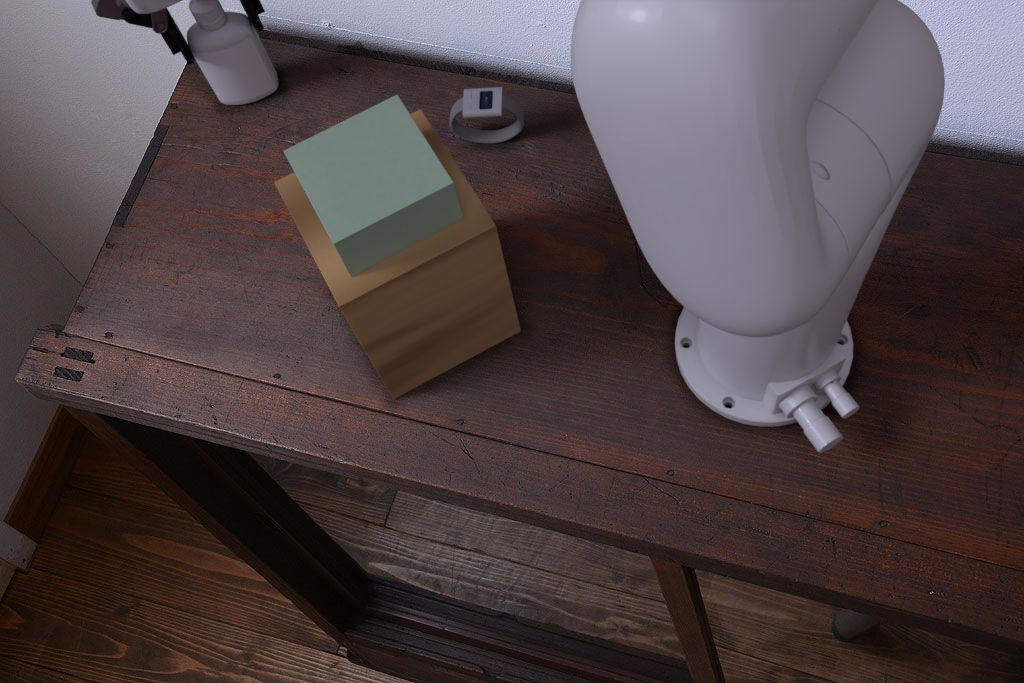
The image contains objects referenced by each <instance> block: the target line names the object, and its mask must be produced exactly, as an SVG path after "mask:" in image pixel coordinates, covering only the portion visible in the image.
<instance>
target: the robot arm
mask: <svg viewBox="0 0 1024 683" xmlns="http://www.w3.org/2000/svg"><path fill="white" fill-rule="evenodd" d="M180 2H183V0H91V3H90V4H91V6H92V8H93V10H94V12H95V15H96V16H97V17H100V18H104V19H108V20H109V19H110V20H116V21H120V20H121V21H125V23H127V24H130V25H134V26H138V27H143V28H148V29H152V30H153V32H154V33H156V34H158V35H160V36H161V38H162V39H163V40H164V42H165V44H166V45H167V47H168V49H169V50H170V52H171V54H172V56H175V55H177V54H179V53H181V55H182V56H183V58H184V59H185V61H186V63H187V65H188V66H191V65H192V64H195V62H196V60H195V58H194V56H193V54H192V52H191V50H190V48H189V46H188V42H187V39H186V38H185V36H184V35H183V33H182V31H181V30H180V28H179V26H178V25H177V22H176V21H175V19H174V18H173V15H172V14H171V13H170V11H169V7H171V6H173V5H176V4H178V3H180ZM239 2H240V4H241V6H242V8H243V10H244V13H245V15H247V16H248V17H249V19H250V21H251V23H252V25H253V26H254V28H255V30H256V32H261V31H264V30H265V27H264V25H263V23H262V21H261V18H260V16H259V15H261V14H263V13H265V8H264V6H263V4H262V1H261V0H239ZM570 42H571V43H570V70H571V76H572V77H571V78H572V84H573V87H574V91H575V94H576V98H577V101H578V103H579V107H580V109H581V111H582V115H583V117H584V119H585V120H584V121H585V122H586V125H587V127H588V130H589V132H590V135H591V137H592V139H593V141H594V144H595V146H596V149H597V150H598V153H599V155H600V158H601V160H602V163H603V165H604V167H605V170H606V172H607V174H608V177H609V179H610V181H611V184H612V186H613V188H614V191H615V193H616V195H617V198H618V200H619V203H620V205H621V207H622V210H623V212H624V214H625V216H626V219H627V222H628V224H629V226H630V229H631V231H632V233H633V235H634V238H635V240H636V242H637V244H638V247H639V249H640V250H641V253H642V254H643V256H644V258H645V260H646V261H647V263H648V265H649V266H650V268H651V270H652V271H653V273H654V275H656V277H657V279H658V280H659V282H660V283H661V285H663V287H664V288H665V289H666V290H667V291H668V292H669V294H670V295H671V296H672V297H673V298H674V299H675V300H676V301H677V302H678V303H679V304H680V305H682V311H681V312H680V314H679V317H678V320H677V324H676V329H675V336H674V351H675V352H674V353H675V360H676V363H677V366H678V369H679V372H680V375H681V377H682V379H683V380H684V382H685V383H686V386H687V387H688V389H689V390H690V391H691V392H692V393H693V394H694V396H695V397H696V398H697V399H698V400H699V401H700V402H701V403H703V405H705V406H706V407H707V408H709V409H710V410H711V411H713V412H714V413H715V414H716V413H717V414H718V415H720V416H722V417H723V418H726V419H728V420H731V421H733V422H736V423H739V424H742V425H748V426H753V427H759V428H760V427H762V428H764V427H766V428H768V427H769V428H770V427H771V428H772V427H773V428H774V427H783V426H788V425H793V424H796V423H797V424H799V426H800V428H801V429H802V430H803V434H804V435H805V436H806V438H807V439H808V441H809V442H810V444H811V445H812V446H813V448H814V449H815V450H816V452H818V454H823V453H825V452H827V451H829V450H831V449H833V448H834V447H836V446H837V445H838V444H839V443H840V442H841V441H842V440H843V439H844V436H843V435H842V433H841V432H840V430H839V429H838V428H837V427H836V425H835V424H834V423H833V421H832V420H831V419H830V417H829V416H828V415H825V413H824V412H823V410H824V409H825V408H826V407H827V406H828V405H830V404H831V406H832V407H833V408H834V409H835V411H836V412H837V413H838V415H839V416H840V417H841V419H842V420H845V419H847V418H850V417H851V416H853V415H854V414H856V413H857V412H858V411H859V410H860V408H861V406H860V405H859V404H858V402H857V401H856V400H855V399H854V397H853V395H851V393H850V392H849V391H848V392H847V390H846V389H845V388H844V385H845V383H846V380H847V378H848V376H849V374H850V371H851V367H852V364H853V360H854V340H853V334H852V329H851V326H850V324H849V321H848V318H849V315H850V314H851V310H852V308H853V307H854V304H855V302H856V299H857V297H858V295H859V292H860V290H861V288H862V285H863V283H864V280H865V278H866V276H867V273H868V271H869V269H870V268H871V266H872V263H873V261H874V259H875V257H876V255H877V253H878V250H879V248H880V245H881V243H882V241H883V238H884V236H885V234H886V232H887V229H888V228H889V225H890V224H891V221H892V218H893V216H894V214H895V212H896V210H897V209H898V206H899V204H900V202H901V200H902V198H903V196H904V194H905V192H906V191H907V188H908V186H909V184H910V182H911V181H912V180H911V179H912V178H913V176H914V174H915V172H916V169H917V168H918V166H919V164H920V162H921V160H922V158H923V156H924V155H925V152H926V150H927V148H928V145H929V144H930V142H931V140H932V137H933V135H934V133H935V130H936V128H937V125H938V123H939V120H940V118H941V113H942V110H943V106H944V98H945V86H946V79H945V68H944V62H943V58H942V54H941V51H940V48H939V45H938V43H937V41H936V39H935V37H934V34H933V33H932V31H931V30H930V29H929V26H927V24H926V23H925V21H923V19H922V18H921V17H920V16H919V15H918V14H917V13H916V12H915V11H914V10H913V9H912V8H910V7H909V6H908V5H907V4H905V3H903V2H901V1H900V0H581V1H580V3H579V6H578V9H577V12H576V15H575V19H574V22H573V26H572V32H571V41H570ZM684 346H687V347H684ZM726 405H729V406H730V408H729V407H726Z"/></svg>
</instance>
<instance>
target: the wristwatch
mask: <svg viewBox="0 0 1024 683" xmlns="http://www.w3.org/2000/svg"><path fill="white" fill-rule="evenodd" d="M504 110H506V111H507V112H509V113H511V115H513V116H514V117H515V118H516V121H515V122H514V123H512V124H511V125H508V126H506V127H503V128H500V129H491V130H490V129H489V130H486V129H477V128H472V127H469V126H465V125H463V124H462V123H460V122H459V120H457V119H456V118H457V117H458V116H459V115H460V113H462V119H481V118H497V117H503V111H504ZM448 122H449V123H448V126H449V129H450V131H451V132H452V134H453V135H454V136H455V137H458V138H459V139H462V140H464V141H469V142H472V143H476V144H499V143H503V142H507V141H509V140H511V139H513V138H515V137H517V136H518V135H519V134H520V133H521V132H522V131H523V128H524V126H525V112H524V109H523V107H522V106H521V105H520V104H519V103H518V102H517V101H516V100H515V99H513V98H512V97H510V96H508V95H505V94H504V88H503V86H494V87H493V86H492V87H478V88H476V87H475V88H463V95H462V97H460V98H459V99H457V100H456V101H455V102H454V103H453V105H452V107H451V109H450V112H449V121H448Z"/></svg>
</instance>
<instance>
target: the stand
mask: <svg viewBox="0 0 1024 683" xmlns="http://www.w3.org/2000/svg"><path fill="white" fill-rule="evenodd" d="M410 115H411V116H412V118H413V119H414V121H415V123H416V124H417V126H418V127H419V129H420V130H421V132H422V134H423V135H424V137H425V138H426V140H427V141H428V143H429V145H430V146H431V148H432V149H433V151H434V152H435V154H436V156H437V157H438V159H439V160H440V162H441V163H442V165H443V167H444V168H445V170H446V171H447V173H448V174H449V176H450V178H451V179H452V181H453V182H454V186H455V189H456V193H457V196H458V200H459V203H460V207H461V210H462V214H463V217H464V219H463V220H461V221H459V222H457V223H455V224H453V225H451V226H449V227H447V228H445V229H443V230H441V231H439V232H437V233H436V234H434V235H432V236H430V237H428V238H426V239H424V240H422V241H420V242H418V243H416V244H414V245H412V246H410V247H408V248H407V249H405V250H403V251H401V252H399V253H397V254H395V255H393V256H391V257H389V258H387V259H385V260H383V261H381V262H379V263H377V264H376V265H374V266H372V267H370V268H368V269H366V270H364V271H362V272H360V273H358V274H356V275H354V276H352V277H351V276H350V275H349V273H348V271H347V269H346V267H345V265H344V263H343V262H342V260H341V258H340V256H339V254H338V252H337V250H336V249H335V247H334V245H333V243H332V241H331V239H330V237H329V236H328V234H327V232H326V230H325V228H324V226H323V224H322V223H321V221H320V219H319V217H318V215H317V213H316V211H315V209H314V208H313V206H312V204H311V202H310V200H309V198H308V196H307V195H306V193H305V191H304V189H303V187H302V185H301V183H300V182H299V180H298V178H297V176H296V174H295V172H294V171H293V172H292V173H290V174H288V175H286V176H284V177H282V178H280V179H278V180H276V181H274V185H275V187H276V189H277V191H278V193H279V195H280V196H281V199H282V201H283V202H284V204H285V206H286V208H287V210H288V212H289V213H290V216H291V217H292V220H293V222H294V224H295V226H296V227H297V229H298V232H299V233H300V235H301V237H302V239H303V240H304V243H305V245H306V247H307V249H308V250H309V252H310V255H311V256H312V258H313V260H314V263H315V264H316V265H317V268H318V269H319V271H320V274H321V275H322V277H323V279H324V281H325V283H326V285H327V287H328V288H329V291H330V293H331V294H332V296H333V298H334V300H335V302H336V305H337V306H338V307H339V309H340V312H341V313H342V315H343V316H344V318H345V320H346V321H347V323H348V325H349V327H350V328H351V330H352V332H353V333H354V335H355V337H356V338H357V340H358V342H359V343H360V345H361V346H362V348H363V349H362V350H364V352H365V354H366V355H367V357H368V359H369V361H370V362H371V364H372V366H373V368H374V370H376V373H377V374H378V376H379V378H380V379H381V381H382V383H383V384H384V386H385V388H386V389H387V392H388V393H389V395H390V396H391V398H392V400H395V399H397V398H399V397H401V396H403V395H405V394H407V393H408V392H410V391H412V390H414V389H416V388H417V387H419V386H422V385H423V384H425V383H427V382H429V381H431V380H433V379H434V378H436V377H439V376H440V375H442V374H444V373H446V372H448V371H449V370H451V369H453V368H455V367H457V366H459V365H461V364H463V363H464V362H466V361H468V360H470V359H472V358H474V357H475V356H477V355H479V354H481V353H483V352H485V351H487V350H488V349H490V348H492V347H494V346H497V345H498V344H500V343H501V342H504V341H505V340H507V339H509V338H511V337H513V336H515V335H517V334H519V333H520V332H521V331H522V329H521V325H520V320H519V316H518V312H517V308H516V304H515V300H514V295H513V291H512V288H511V287H512V286H511V283H510V279H509V274H508V270H507V267H506V262H505V258H504V253H503V250H502V245H501V240H500V236H499V233H498V228H497V225H496V223H495V222H494V220H493V219H492V217H491V216H490V214H489V212H488V211H487V209H486V208H485V206H484V204H483V203H482V201H481V200H480V198H479V197H478V195H477V193H476V192H475V191H474V189H473V188H472V186H471V184H470V183H469V181H468V180H467V178H466V177H465V175H464V173H463V171H462V170H461V169H460V167H459V166H458V164H457V163H456V161H455V160H454V158H453V157H452V155H451V153H450V152H449V150H448V149H447V147H446V146H445V144H444V143H443V140H442V139H441V138H440V136H439V135H438V133H437V132H436V130H435V129H434V127H433V126H432V124H431V122H430V121H429V119H428V117H427V116H426V115H425V113H424V111H423V110H422V108H421V109H418V110H416V111H414V112H411V113H410Z"/></svg>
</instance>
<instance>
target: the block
mask: <svg viewBox="0 0 1024 683" xmlns="http://www.w3.org/2000/svg"><path fill="white" fill-rule="evenodd" d="M410 114H411V113H410V112H409V110H408V109H407V107H406V105H405V104H404V102H403V100H402V98H400V96H399V95H398V94H394V95H393V96H391V97H389V98H387V99H385V100H383V101H381V102H378V103H377V104H375V105H372V106H370V107H369V108H366V109H365V110H363V111H361V112H359V113H357V114H355V115H352V116H351V117H349V118H347V119H345V120H343V121H340V122H338V123H337V124H334V125H332V126H330V127H328V128H326V129H324V130H322V131H320V132H318V133H316V134H314V135H312V136H310V137H308V138H306V139H304V140H302V141H300V142H298V143H296V144H294V145H292V146H290V147H288V148H285V149H283V153H284V155H285V157H286V159H287V161H288V163H289V164H290V166H291V169H292V171H293V173H294V172H295V174H296V176H297V178H298V180H299V182H300V183H301V185H302V187H303V189H304V191H305V193H306V195H307V196H308V198H309V200H310V202H311V204H312V206H313V208H314V209H315V211H316V213H317V215H318V217H319V219H320V221H321V223H322V224H323V226H324V228H325V230H326V232H327V234H328V236H329V237H330V239H331V241H332V243H333V245H334V247H335V249H336V250H337V252H338V254H339V256H340V258H341V260H342V262H343V263H344V265H345V267H346V269H347V271H348V273H349V275H350V276H351V277H352V276H354V275H356V274H358V273H360V272H362V271H364V270H366V269H368V268H370V267H372V266H374V265H376V264H377V263H379V262H381V261H383V260H385V259H387V258H389V257H391V256H393V255H395V254H397V253H399V252H401V251H403V250H405V249H407V248H408V247H410V246H412V245H414V244H416V243H418V242H420V241H422V240H424V239H426V238H428V237H430V236H432V235H434V234H436V233H437V232H439V231H441V230H443V229H445V228H447V227H449V226H451V225H453V224H455V223H457V222H459V221H461V220H463V219H464V217H463V214H462V210H461V207H460V203H459V200H458V196H457V193H456V189H455V186H454V182H453V181H452V179H451V178H450V176H449V174H448V173H447V171H446V170H445V168H444V167H443V165H442V163H441V162H440V160H439V159H438V157H437V156H436V154H435V152H434V151H433V149H432V148H431V146H430V145H429V143H428V141H427V140H426V138H425V137H424V135H423V134H422V132H421V130H420V129H419V127H418V126H417V124H416V123H415V121H414V119H413V118H412V116H411V115H410Z"/></svg>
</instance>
